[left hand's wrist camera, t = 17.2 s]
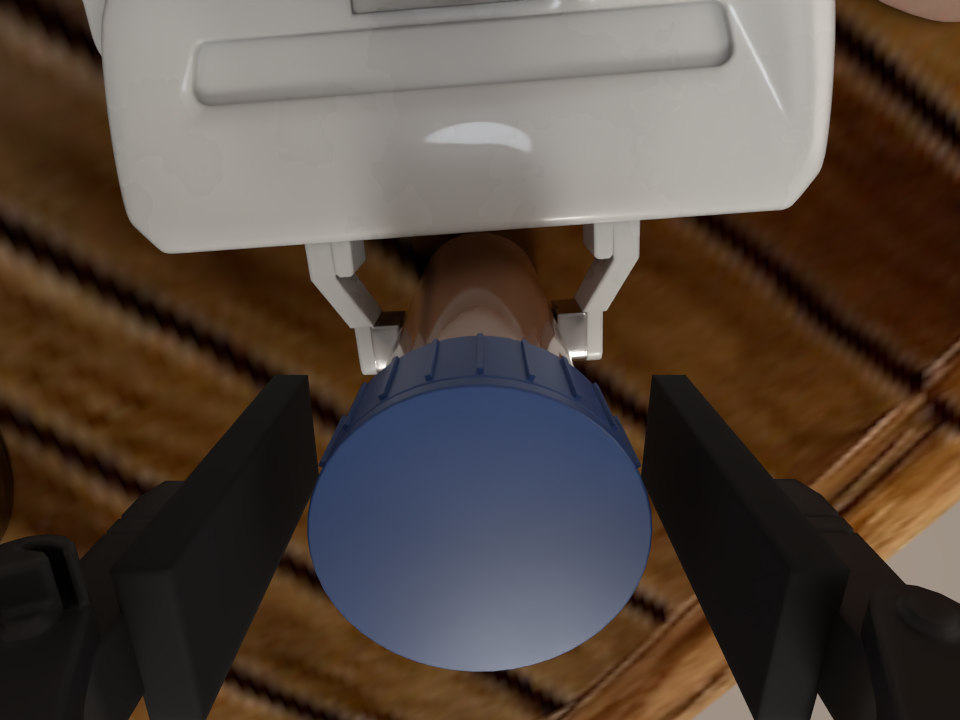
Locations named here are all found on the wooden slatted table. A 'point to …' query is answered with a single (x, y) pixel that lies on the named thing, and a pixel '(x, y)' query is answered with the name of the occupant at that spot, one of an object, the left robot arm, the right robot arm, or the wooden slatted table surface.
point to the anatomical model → (929, 8)
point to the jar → (479, 297)
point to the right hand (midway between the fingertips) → (483, 362)
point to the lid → (479, 507)
